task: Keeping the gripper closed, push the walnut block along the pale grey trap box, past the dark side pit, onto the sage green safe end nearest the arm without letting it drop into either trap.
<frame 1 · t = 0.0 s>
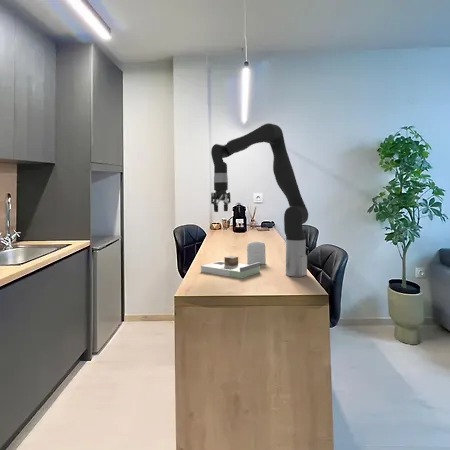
hand: (221, 211, 206), 29 cm above the countertop, tool pointing down, fingers open, 8 cm apart
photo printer: (256, 264, 210), on the countertop
walnut block: (231, 264, 192), point 3 cm above the countertop, touching trap box
trap box: (230, 271, 189), on the countertop
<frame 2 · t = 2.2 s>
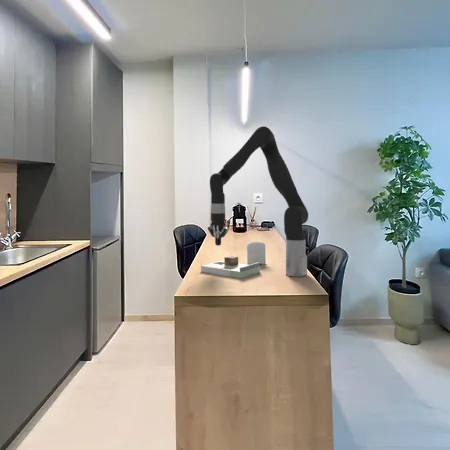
hand: (218, 245, 197), 12 cm above the countertop, tool pointing down, fingers closed
nothing on the countertop moved.
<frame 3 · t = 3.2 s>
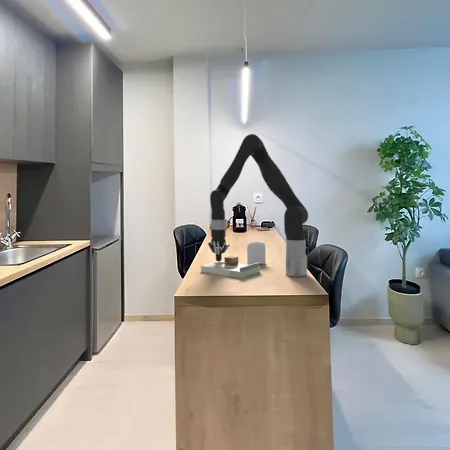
hand: (218, 261, 197), 4 cm above the countertop, tool pointing down, fingers closed
nothing on the countertop moved.
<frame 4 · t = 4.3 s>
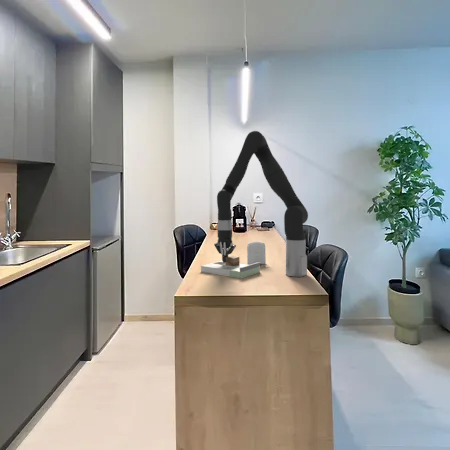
hand: (225, 262, 195), 4 cm above the countertop, tool pointing down, fingers closed
walnut block: (232, 264, 192), point 3 cm above the countertop, touching gripper, trap box
everything else where it was.
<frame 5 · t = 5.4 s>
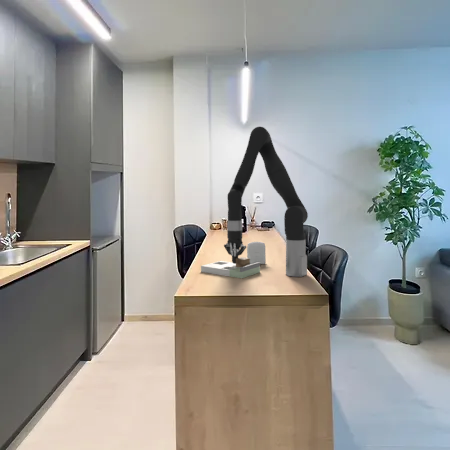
hand: (235, 263, 191), 4 cm above the countertop, tool pointing down, fingers closed
walnut block: (242, 266, 188), point 3 cm above the countertop, touching gripper, trap box
everything else where it was.
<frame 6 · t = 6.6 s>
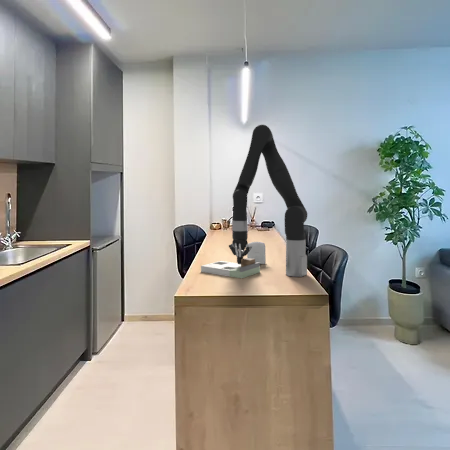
hand: (240, 264, 189), 4 cm above the countertop, tool pointing down, fingers closed
walnut block: (248, 267, 186), point 3 cm above the countertop, touching gripper, trap box
everything else where it was.
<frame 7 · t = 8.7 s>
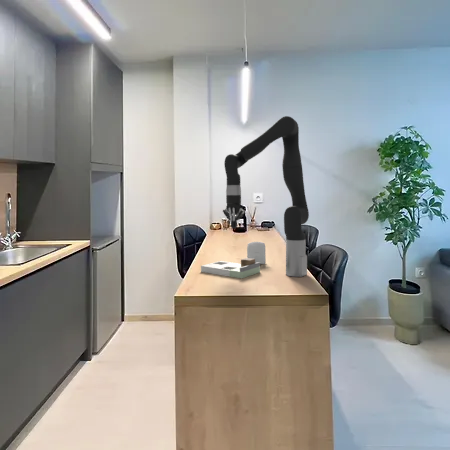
hand: (233, 228, 194), 21 cm above the countertop, tool pointing down, fingers closed
walnut block: (248, 267, 186), point 3 cm above the countertop, touching trap box
everything else where it was.
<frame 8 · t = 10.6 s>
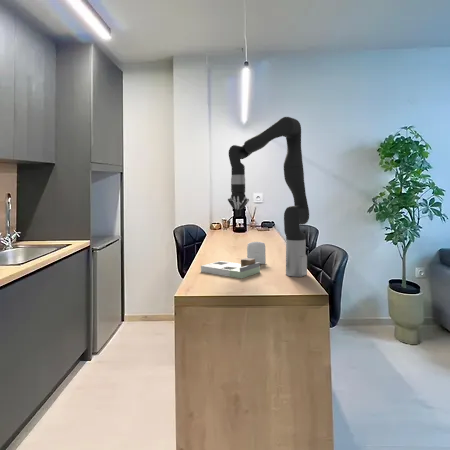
hand: (238, 216, 202), 27 cm above the countertop, tool pointing down, fingers closed
nothing on the countertop moved.
at the end: walnut block 0.3 cm from the target spot on the trap box, point 3.0 cm above the trap box's base; walnut block tilted 0° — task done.
